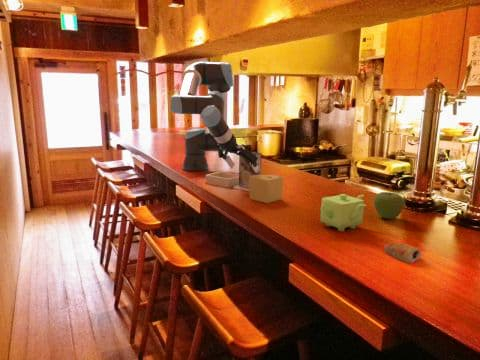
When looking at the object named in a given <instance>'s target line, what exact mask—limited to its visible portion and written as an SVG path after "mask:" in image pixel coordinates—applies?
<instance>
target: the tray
mask: <svg viewBox="0 0 480 360" xmlns="http://www.w3.org/2000/svg"><path fill="white" fill-rule="evenodd" d="M204 180H205V181H204V182H205V184H211V185H214V186H219V187H224V188H231V187H232V188H233V187H234V186H238V185H239V174H237V173H236V174H235V173H231V172H225V171H217V172H212V173H209V174H205V179H204Z"/></svg>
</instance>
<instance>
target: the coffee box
mask: <svg viewBox="0 0 480 360" xmlns="http://www.w3.org/2000/svg"><path fill="white" fill-rule="evenodd" d="M251 152H252V153H253V154H254V155H255V156H256V157H258V159H257V161H256V163H257V165H258V167H259V169H258V171H257V172H254V170H253V168H252V167H251V165H250V164H249V163H250V162H249V161H247V160H246V159H244V158H243V157H241V156H240V155H239V156H238V175H239V187H247V188H249V179H250V176H253V175H262V155H263V154H262V153H261V152H254V151H251Z"/></svg>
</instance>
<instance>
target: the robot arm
mask: <svg viewBox="0 0 480 360" xmlns="http://www.w3.org/2000/svg"><path fill="white" fill-rule="evenodd" d="M233 75H234V74H233V68H232V64H231V63H229V62H224V61H219V62H217V61H216V62H215V61H197V62H194V63H192V64H190V65H189V66H187V67H186V68H185V69H184V70H183V72H182V74H181V85H180V87H179V91H178V94H175V95H171V97H170V102H169V103H170V110H171V111H170V112H171V113H172V114H177V115H200V119H201V121H202V122H203V125H205V127H206V128H207V130H206V128H202V127H201V128H194V129H193V128H192V129H188V130H186V131H185V136H184V139H185V142H184V143H185V146H184V147H185V148H184V149H185V155H184V159H183V163H182V166H181V167H182V170H184V171H188V172H202V171H207V170H208V169H209V163H208V159H207V157H206V152H217V154H218V159H221V158H222V160H224V161H225V163H226V164H227V165H228V166H229V168H230V169H233V168H234V166H235V162H234V161H233V160H232V158H231V157H230V155H228V154H235V155H237V156H238V157H239V155H240V156H241V157H243V158H244V159H246V160H247V161H249V162H250V163H249V164H250V165H251V167H252V168H253V170H254V172H257V171H258V169H259V167H258V165H257V163H256V161H257V159H258V157H256V156H255V155H254V154H253V153H252V152H253V151H251V150H249V148H248V147H247V146H246V145H245V144H243V143H241V145H239V144H238V142H237V138H236V136H235V135H234V133H233V131H232V130H231V128H230V127H229V125H228V92H229V91H231V87H233V86H234V76H233ZM200 86H201V87H202V86H205V87H207V89H208V91H209V93H207V96H206V95H197V94H198V93H197V92H198V88H199V87H200Z"/></svg>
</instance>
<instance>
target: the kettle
mask: <svg viewBox="0 0 480 360" xmlns="http://www.w3.org/2000/svg"><path fill="white" fill-rule="evenodd" d="M364 196H365V195H364V194H359V195H357V197H354V196H351V195H348V194H347V193H346V194H345V193H341V194H338V195H333V196H332V195H331V196H326V197H325V196H324V197H322V198H321V206H320V207H321V208H319V209H320V210H319V211H320V223H321V222H322V223H325V226H326V227H333V228H337V231H338V232H345V231H346V230H345V229H346V228H350V229H356V228H357V227H356V226H359V225H362V224H363V220H364V210H365V207H366V206H367V205H366V204H365V200H363V199H362V198H363V197H364Z"/></svg>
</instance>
